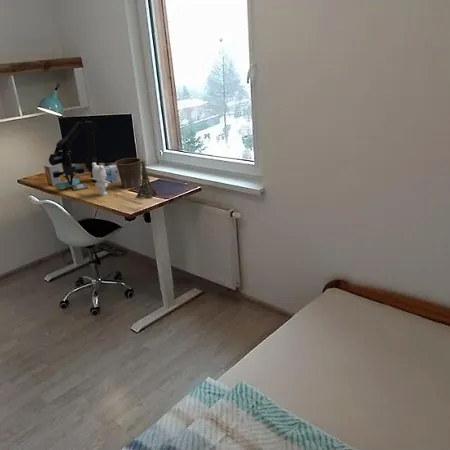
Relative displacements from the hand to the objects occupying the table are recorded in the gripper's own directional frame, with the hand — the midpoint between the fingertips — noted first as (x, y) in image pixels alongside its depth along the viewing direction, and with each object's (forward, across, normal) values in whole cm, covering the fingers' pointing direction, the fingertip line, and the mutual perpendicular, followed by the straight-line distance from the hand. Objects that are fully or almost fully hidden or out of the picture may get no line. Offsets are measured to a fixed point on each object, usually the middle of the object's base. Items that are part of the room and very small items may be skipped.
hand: (71, 185), depth 295 cm
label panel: (+3, +5, +1) cm, 6 cm away
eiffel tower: (+3, +39, -42) cm, 57 cm away
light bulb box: (+3, +25, +1) cm, 26 cm away
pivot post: (+3, +5, +10) cm, 12 cm away
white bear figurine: (+3, +16, -23) cm, 28 cm away
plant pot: (+3, +36, -15) cm, 39 cm away
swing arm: (+1, 0, +6) cm, 6 cm away
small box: (+3, -9, +22) cm, 24 cm away
